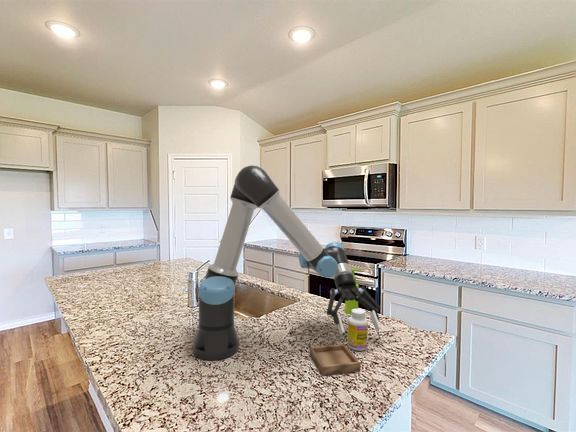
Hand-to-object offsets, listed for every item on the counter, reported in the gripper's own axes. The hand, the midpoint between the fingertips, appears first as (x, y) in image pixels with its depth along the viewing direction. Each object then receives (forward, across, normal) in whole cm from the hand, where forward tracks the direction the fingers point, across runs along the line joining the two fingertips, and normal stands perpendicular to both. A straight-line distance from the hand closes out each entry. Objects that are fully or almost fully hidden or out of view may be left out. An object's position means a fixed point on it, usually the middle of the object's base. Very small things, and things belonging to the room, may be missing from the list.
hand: (360, 331), depth 102 cm
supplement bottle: (+3, 0, -6) cm, 7 cm away
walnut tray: (+9, +12, 0) cm, 15 cm away
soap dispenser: (-18, -13, -28) cm, 36 cm away
